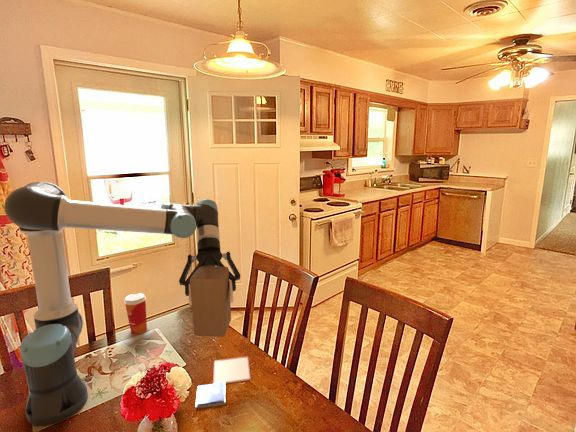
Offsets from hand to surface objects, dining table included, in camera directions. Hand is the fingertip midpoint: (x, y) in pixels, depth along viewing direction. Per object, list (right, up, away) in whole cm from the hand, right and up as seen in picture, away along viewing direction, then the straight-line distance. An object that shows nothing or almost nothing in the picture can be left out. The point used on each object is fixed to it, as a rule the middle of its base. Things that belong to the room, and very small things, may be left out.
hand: (211, 303), depth 104 cm
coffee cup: (-38, -20, +35) cm, 55 cm away
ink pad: (0, -28, -2) cm, 28 cm away
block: (-1, -10, +5) cm, 11 cm away
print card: (+5, -25, +9) cm, 27 cm away
